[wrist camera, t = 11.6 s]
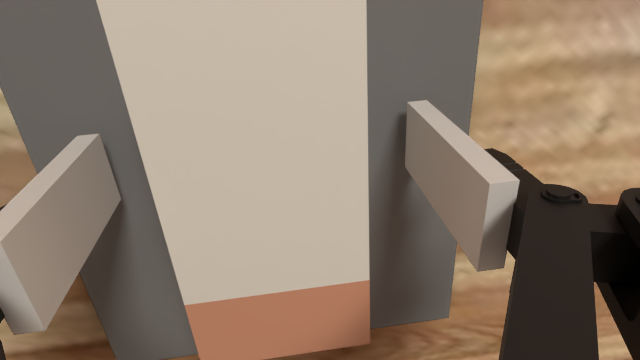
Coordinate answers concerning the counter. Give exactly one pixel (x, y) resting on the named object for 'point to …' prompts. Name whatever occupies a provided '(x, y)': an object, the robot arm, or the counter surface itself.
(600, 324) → the counter surface
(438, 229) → the mat
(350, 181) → the pink tipped block
